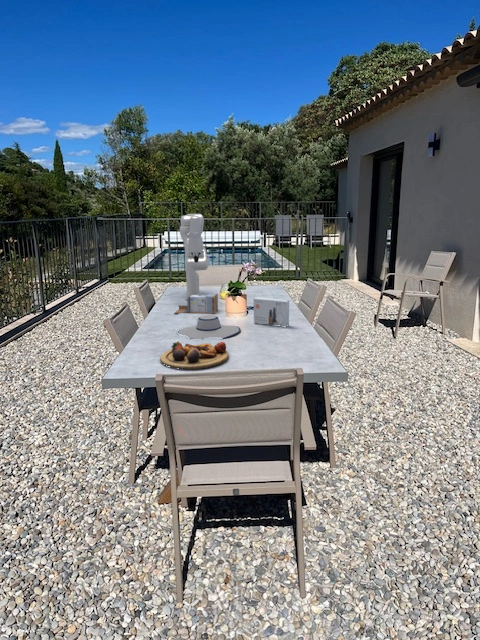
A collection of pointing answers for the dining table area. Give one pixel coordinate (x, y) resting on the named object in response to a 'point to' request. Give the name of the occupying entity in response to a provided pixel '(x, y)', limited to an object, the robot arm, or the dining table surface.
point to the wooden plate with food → (195, 355)
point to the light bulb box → (198, 303)
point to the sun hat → (209, 329)
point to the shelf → (214, 309)
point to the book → (209, 303)
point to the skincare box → (271, 311)
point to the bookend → (188, 304)
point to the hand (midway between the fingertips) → (196, 262)
